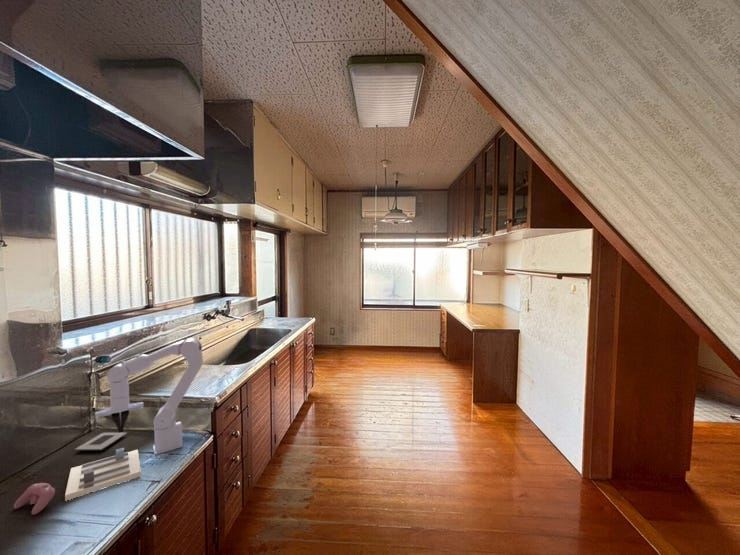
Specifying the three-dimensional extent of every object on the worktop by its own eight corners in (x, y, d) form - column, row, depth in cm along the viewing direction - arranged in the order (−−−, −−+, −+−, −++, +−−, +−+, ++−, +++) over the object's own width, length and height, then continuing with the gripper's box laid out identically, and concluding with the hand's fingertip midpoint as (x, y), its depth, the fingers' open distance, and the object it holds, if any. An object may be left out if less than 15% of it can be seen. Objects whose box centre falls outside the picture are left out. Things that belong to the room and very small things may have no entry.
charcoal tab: (94, 477, 108) (93, 468, 108) (93, 480, 106) (93, 471, 106) (84, 480, 107) (84, 471, 107) (84, 483, 105) (83, 474, 105)
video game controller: (49, 512, 98) (61, 485, 101) (31, 515, 94) (44, 487, 97) (28, 506, 101) (41, 479, 104) (10, 508, 97) (23, 481, 100)
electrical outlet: (101, 454, 127) (101, 448, 127) (74, 454, 128) (74, 448, 128) (127, 437, 140) (127, 431, 140) (102, 437, 141) (102, 431, 141)
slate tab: (124, 455, 121) (123, 447, 121) (124, 458, 119) (124, 450, 119) (115, 457, 120) (115, 449, 119) (115, 460, 118) (115, 452, 118)
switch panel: (137, 454, 126) (137, 447, 126) (140, 477, 112) (140, 469, 112) (71, 473, 114) (71, 465, 114) (65, 501, 100) (64, 492, 100)
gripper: (142, 388, 132) (143, 422, 133) (95, 397, 123) (96, 433, 124) (143, 393, 127) (144, 428, 127) (94, 403, 118) (95, 440, 118)
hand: (120, 431), depth 125 cm, fingers closed
